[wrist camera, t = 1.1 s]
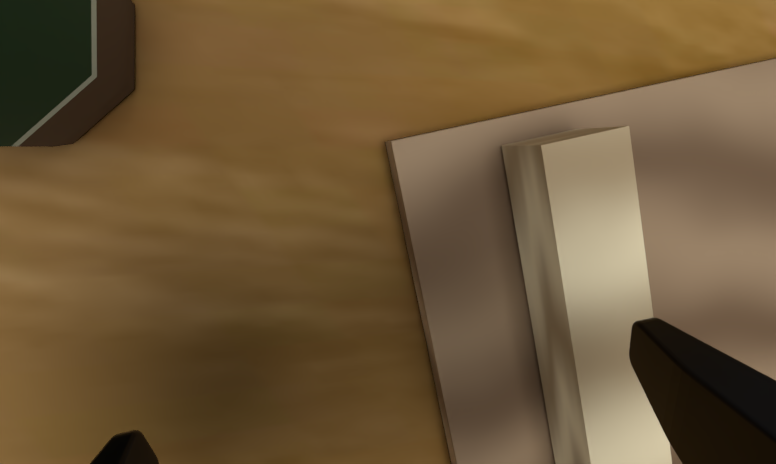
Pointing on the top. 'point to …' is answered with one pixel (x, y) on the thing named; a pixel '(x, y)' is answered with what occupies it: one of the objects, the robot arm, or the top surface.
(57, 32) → the beer bottle
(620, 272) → the fold-out leg
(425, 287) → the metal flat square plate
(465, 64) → the top surface
